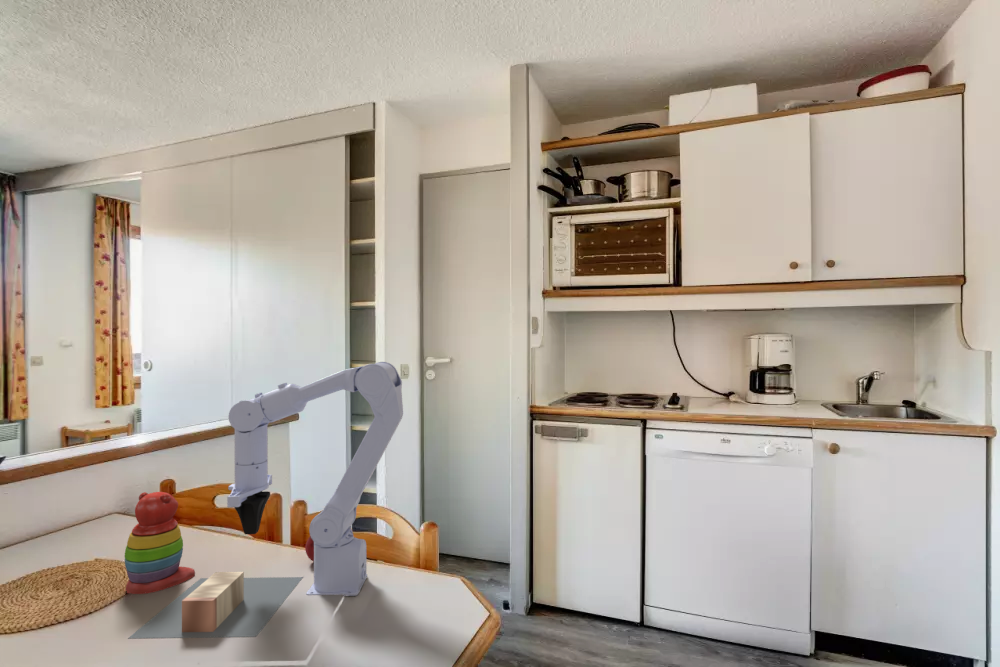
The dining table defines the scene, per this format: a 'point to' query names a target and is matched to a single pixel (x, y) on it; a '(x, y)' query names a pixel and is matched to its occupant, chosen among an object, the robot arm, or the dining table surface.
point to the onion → (310, 548)
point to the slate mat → (242, 622)
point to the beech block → (212, 602)
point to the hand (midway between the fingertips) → (251, 532)
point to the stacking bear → (155, 546)
